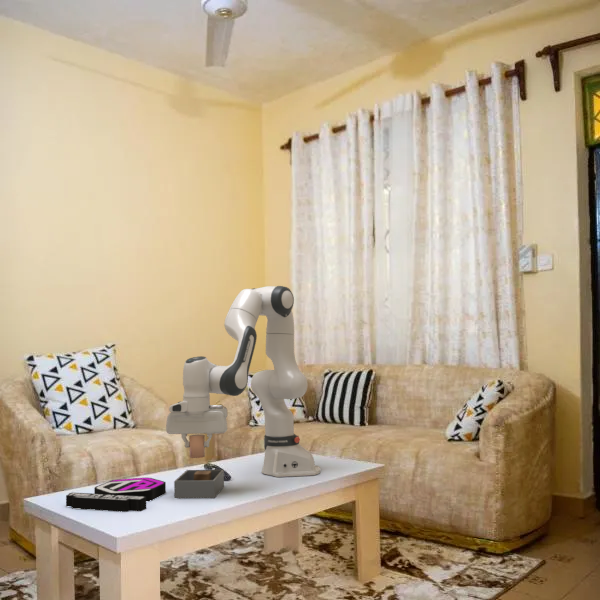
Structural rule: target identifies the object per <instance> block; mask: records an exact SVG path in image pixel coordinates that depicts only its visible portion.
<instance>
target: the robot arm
mask: <svg viewBox="0 0 600 600" xmlns="http://www.w3.org/2000/svg"><path fill="white" fill-rule="evenodd" d="M294 297H295V296H294V294H293V292H292V290H291V289H290V288H289V287H287V286H283V285H277V286H276V285H275V286H274V285H269V286H267V285H265V286H263V287H258V288H255V287H254V288H244V289H242V290H240V291H239V292H238V294H237V295H236V297H235V299H234V300H233V301H232V304H231V305H230V307H229V310H228V312H227V314H226V316H225V319H224V323H223V326H224V328H225V332H226V333H227V334H228V335H229V336H230V337H231V338H233V339H234V340H235V341H237V342H238V344H237V348H236V352H235V355H234V359H233V362H231V363H230V364H229V365H217V364H214V363H213V362H211V361H209V359H208V358H207V357H206V356H194V357H190V358H187V359H186V360H185V361H184V364H183V368H182V369H183V370H182V386H183V395H182V401H181V400H180V401H178V402H177V403H172V404H171V405H170V406H169V407H168V410H169V413H168V414H167V417H166V424H165V425H166V426H165V431H166V433H167V434H168V435H180V436H181V437H180V438H181V439H182V440H183V442H184V447H185V448H190V440H188V439H187V437H188V435H195V434H203V435H205V434H206V437H207V440H205V442H204V447H205V448H210V441H211V439H212V437H213V434H225V433H226V432H227V430H228V421H227V417H228V408H227V407H226V406H224V405H222V404H217V405H216V404H215V405H214V404H211V401H210V400H211V399H210V398H211V396H210V394H217V395H218V394H219V395H226V396H232V397H237V396H240V395H241V394H243V392H244V391H245V390H246V388H247V386H248V382H249V371H250V367H251V363H252V360H253V355H254V351H255V348H256V344H257V337H258V336H257V331H256V325H257V322H258V321H259V318H260V317H259V316H266V319H267V322H266V331H265V333H266V334H265V355H266V357H267V358H268V359H270V360H271V362H272V365H273V369H264V370H261V371H257V372H255V373H254V374H253V376H252V377H251V380H250V388H251V391H252V392H253V394H255V395H256V396H257V398H258V400H259V402H260V404H261V405H260V406H261V407H262V409H263V410H262V411H263V415H264V432H265V433H264V436H263V437H264V438H263V447H264V457H263V460H264V461H263V465H262V470H261V473H262V474H264V475H267V476H272V477H276V478H282V477H283V478H284V477H303V476H306V477H307V476H316V475H319V474H320V473H321V467H320V466H319V465H315V459H314V456H313V454H312V453H311V452H310V451H309V450H308V449H306V448H305V447H304V446H302V445H301V444H300V441H301V440H300V439H301V438H300V436H299V435H297V434H295V428H294V427H295V425H294V421H295V420H294V418H295V417H294V414H293V412H292V411H291V410H290V409H289V407H288V406H287V404H286V402H285V400H295V399H300V398H302V397H303V396H304V395H305V394H306V393H307V390H308V380H307V377H306V375H304V373H303V372H302V371H301V370H300V368H299V366H298V363H297V360H296V356H295V322H294V319H295V318H294V315H293V311H292V310H293V307H294V301H295V299H294Z"/></svg>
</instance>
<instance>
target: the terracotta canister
mask: <svg viewBox="0 0 600 600" xmlns="http://www.w3.org/2000/svg"><path fill="white" fill-rule="evenodd" d="M188 441H190V447H189V458H190V459H199V458H205V457H206V452H205V451H206V447H204V442H205V441H206V440H205V434H189V440H188Z"/></svg>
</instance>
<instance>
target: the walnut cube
mask: <svg viewBox="0 0 600 600" xmlns="http://www.w3.org/2000/svg"><path fill="white" fill-rule="evenodd" d="M203 480H211V471H197V472H196V473H195V474H194V481H203Z"/></svg>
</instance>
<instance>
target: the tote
mask: <svg viewBox="0 0 600 600" xmlns="http://www.w3.org/2000/svg"><path fill="white" fill-rule="evenodd" d="M197 471H211V480H203V481H194V474H195V473H196V472H197ZM224 473H225V470H224V469H186V470H185V471H184V472H183V473H181V474H180V475H179V477H177V478H176V479H175V480H174V481H173V488H174V491H173V494H174V495H173V496H174V498H179V499H215V498H216V497H217V496H218V494H219V493H220V492H221V490H223V488H224V486H225V474H224ZM219 491H220V492H219ZM216 495H217V496H216Z"/></svg>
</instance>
